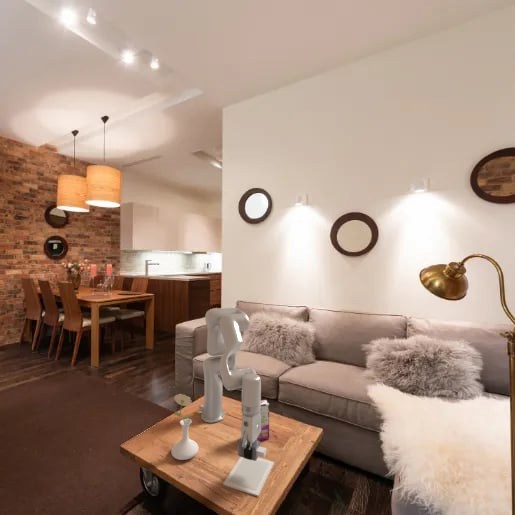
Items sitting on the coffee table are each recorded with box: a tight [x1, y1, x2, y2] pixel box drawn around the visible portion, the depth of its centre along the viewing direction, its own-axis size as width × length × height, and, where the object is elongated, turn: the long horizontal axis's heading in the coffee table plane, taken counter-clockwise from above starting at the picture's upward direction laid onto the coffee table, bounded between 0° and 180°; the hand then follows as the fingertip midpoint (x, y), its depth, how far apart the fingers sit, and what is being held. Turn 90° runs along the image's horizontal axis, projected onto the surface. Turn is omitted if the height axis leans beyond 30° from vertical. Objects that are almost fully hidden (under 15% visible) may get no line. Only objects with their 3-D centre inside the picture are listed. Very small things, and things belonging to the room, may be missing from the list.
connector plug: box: [237, 437, 267, 461], centre depth 113 cm, size 11×4×5 cm, turn 69°
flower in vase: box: [171, 393, 200, 461], centre depth 124 cm, size 13×11×25 cm
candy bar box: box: [257, 399, 270, 441], centre depth 136 cm, size 11×5×16 cm, turn 105°
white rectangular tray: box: [222, 456, 275, 497], centre depth 113 cm, size 14×18×1 cm
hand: (250, 454), depth 113 cm, fingers closed on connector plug, 4 cm apart
